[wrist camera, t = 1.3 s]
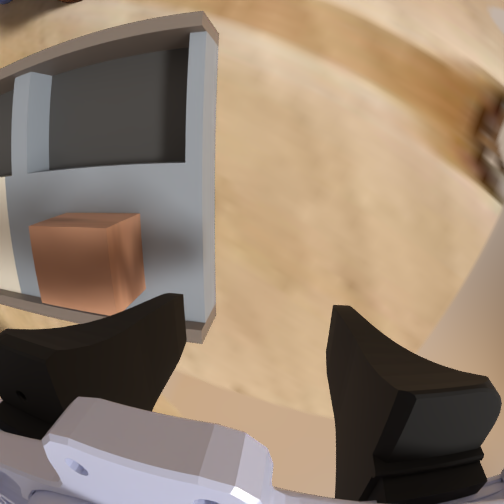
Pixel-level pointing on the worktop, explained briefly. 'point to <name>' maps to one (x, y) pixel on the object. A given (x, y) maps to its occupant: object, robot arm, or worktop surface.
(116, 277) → the block
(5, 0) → the water bottle
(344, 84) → the worktop surface
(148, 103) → the box
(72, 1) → the food container
